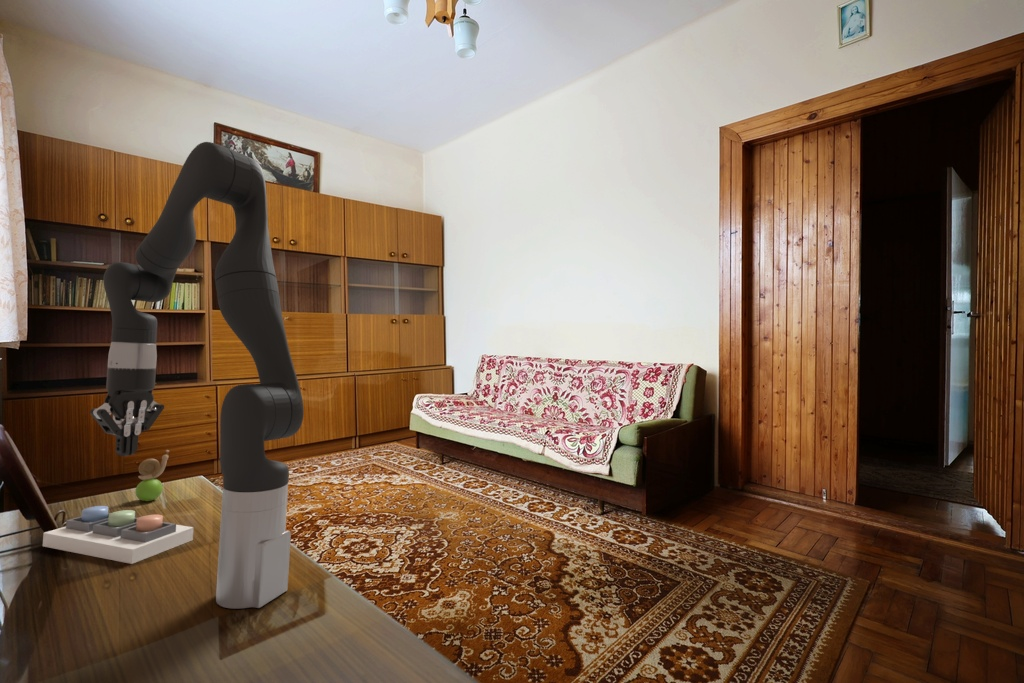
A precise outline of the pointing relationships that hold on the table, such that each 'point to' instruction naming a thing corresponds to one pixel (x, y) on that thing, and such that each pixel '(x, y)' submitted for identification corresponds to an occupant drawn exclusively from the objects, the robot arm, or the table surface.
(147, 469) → the snail figurine
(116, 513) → the sage button
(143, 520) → the salmon button
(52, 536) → the button panel
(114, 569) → the table surface
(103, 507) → the slate button
